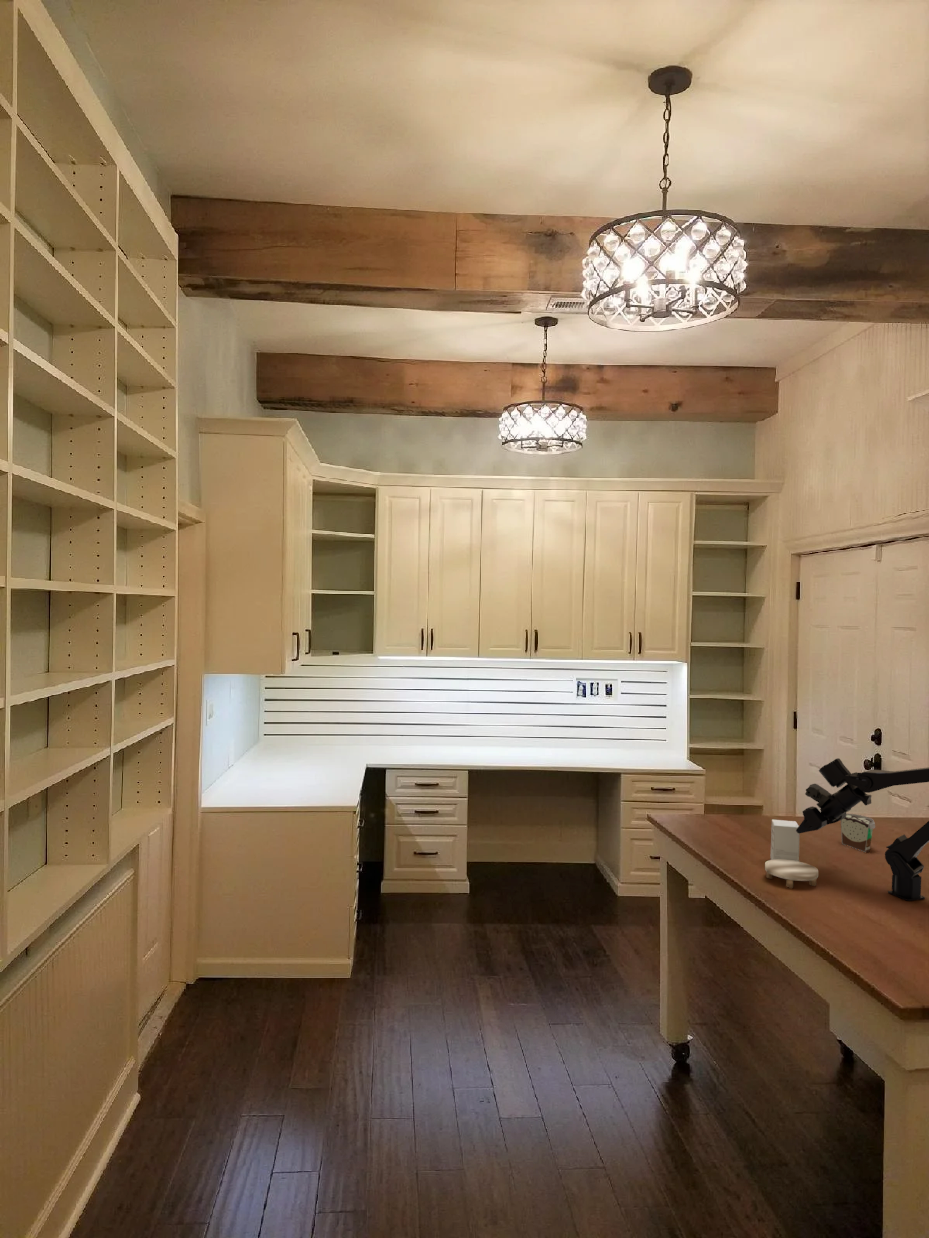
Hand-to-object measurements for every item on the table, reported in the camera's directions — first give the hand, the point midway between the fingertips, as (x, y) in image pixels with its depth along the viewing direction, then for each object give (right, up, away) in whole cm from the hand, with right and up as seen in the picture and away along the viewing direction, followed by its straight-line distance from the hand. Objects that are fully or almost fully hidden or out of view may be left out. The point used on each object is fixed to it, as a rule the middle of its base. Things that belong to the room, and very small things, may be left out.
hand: (803, 829), depth 235 cm
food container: (+29, -13, +24) cm, 40 cm away
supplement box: (-4, -12, +4) cm, 13 cm away
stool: (-8, -12, -11) cm, 18 cm away
